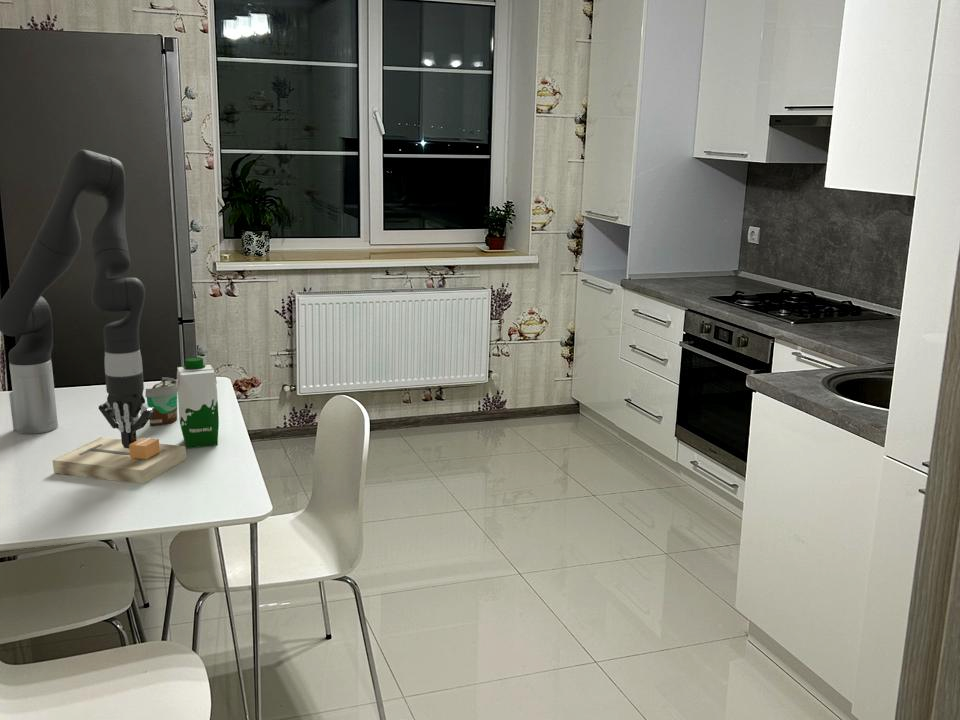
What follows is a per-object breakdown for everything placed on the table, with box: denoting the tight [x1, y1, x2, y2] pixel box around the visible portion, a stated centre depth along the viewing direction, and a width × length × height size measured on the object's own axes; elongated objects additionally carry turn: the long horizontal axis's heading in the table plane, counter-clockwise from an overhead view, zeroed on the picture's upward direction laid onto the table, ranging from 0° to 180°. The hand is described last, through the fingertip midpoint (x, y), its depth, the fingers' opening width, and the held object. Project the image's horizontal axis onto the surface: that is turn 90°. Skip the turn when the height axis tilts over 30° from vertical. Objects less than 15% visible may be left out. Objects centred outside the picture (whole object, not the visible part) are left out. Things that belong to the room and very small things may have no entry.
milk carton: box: [176, 356, 220, 449], centre depth 214 cm, size 9×9×20 cm
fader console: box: [52, 437, 187, 485], centre depth 200 cm, size 22×16×3 cm
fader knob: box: [129, 437, 160, 459], centre depth 198 cm, size 4×5×3 cm
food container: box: [144, 376, 178, 427], centre depth 232 cm, size 12×6×10 cm, turn 179°
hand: (129, 447), depth 199 cm, fingers closed
